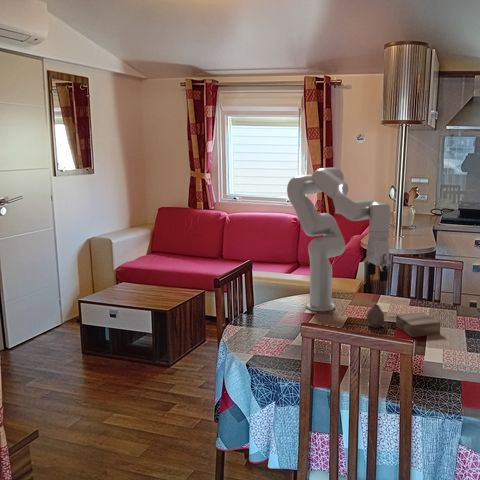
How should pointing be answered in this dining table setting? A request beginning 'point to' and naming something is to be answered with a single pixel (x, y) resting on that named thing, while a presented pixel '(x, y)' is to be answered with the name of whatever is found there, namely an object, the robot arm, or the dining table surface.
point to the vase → (375, 317)
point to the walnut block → (418, 324)
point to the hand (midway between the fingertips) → (377, 277)
